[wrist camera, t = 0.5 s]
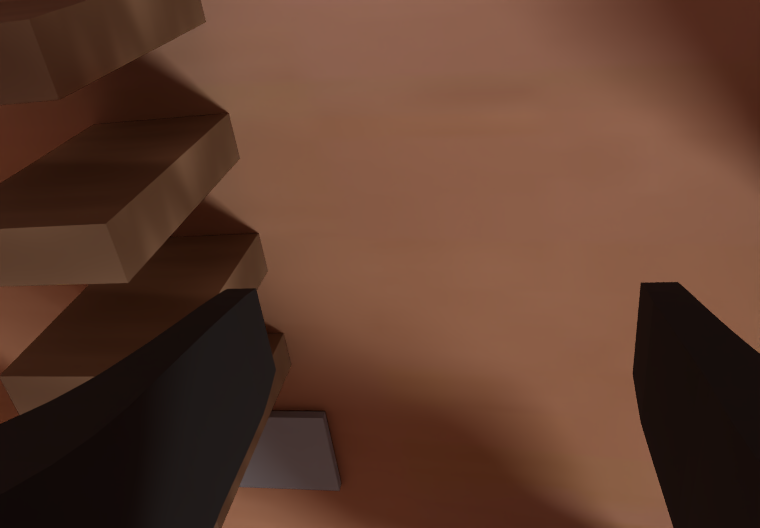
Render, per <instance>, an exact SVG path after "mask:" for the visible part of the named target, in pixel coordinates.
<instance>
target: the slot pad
mask: <svg viewBox="0 0 760 528" xmlns="http://www.w3.org/2000/svg"><path fill="white" fill-rule="evenodd" d="M239 487H254V488H280V489H306V490H332V491H340V487H341V480H340V475H339V471H338V467H337V462H336V458H335V453H334V449H333V445H332V440H331V436H330V431H329V427H328V423H327V418H326V414H325V412H317V411H271V413H270V416H269V418H268V420H267V423H266V425H265V427H264V430H263V432H262V434H261V437H260V439H259V441H258V444H257V446H256V448H255V451H254V453H253V455H252V458H251V460H250V462H249V465H248V467H247V469H246V472H245V474H244V476H243V479H242V481H241V483H240V486H239Z"/></svg>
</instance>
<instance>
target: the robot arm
mask: <svg viewBox="0 0 760 528" xmlns="http://www.w3.org/2000/svg"><path fill="white" fill-rule="evenodd" d="M275 372H276V368H275V363H274V359H273V355H272V351H271V347H270V343H269V339H268V335H267V331H266V327H265V323H264V319H263V315H262V311H261V307H260V303H259V299H258V295H257V291H256V288H244V289H226V290H224V291H222V292H221V293H219V294H217V295H216V296H214V297H213V298H211V299H210V300H208V301H207V302H205V303H204V304H202V305H201V306H199V307H198V308H197V309H195V310H194V311H192V312H191V313H189V314H188V315H187V316H185V317H184V318H182V319H181V320H180V321H178V322H177V323H175V324H174V325H173V326H171V327H170V328H168V329H167V330H165V331H164V332H163V333H161V334H160V335H158V336H157V337H155V338H154V339H153V340H151V341H150V342H148V343H147V344H145V345H144V346H142V347H141V348H139V349H138V350H136V351H134V352H133V353H131V354H130V355H128V356H127V357H125V358H124V359H122V360H121V361H119V362H117V363H116V364H114V365H113V366H111V367H110V368H108V369H107V370H105V371H103V372H102V373H100V374H98V375H97V376H95V377H93V378H92V379H90V380H88V381H86V382H85V383H83V384H81V385H79V386H77V387H76V388H74V389H72V390H70V391H68V392H66V393H64V394H63V395H61V396H59V397H57V398H55V399H53V400H51V401H49V402H47V403H45V404H43V405H41V406H39V407H36V408H34V409H32V410H30V411H28V412H26V413H23V414H21V415H19V416H17V417H15V418H13V419H10V420H8V421H6V422H4V423H2V424H0V528H214V526H215V524H216V521H217V519H218V516H219V514H220V511H221V509H222V506H223V504H224V502H225V500H226V497H227V495H228V493H229V491H230V489H231V486H232V484H233V482H234V480H235V478H236V475H237V473H238V471H239V469H240V466H241V464H242V462H243V460H244V458H245V455H246V453H247V451H248V449H249V447H250V444H251V442H252V440H253V437H254V435H255V433H256V431H257V428H258V426H259V424H260V421H261V419H262V417H263V414H264V411H265V408H266V405H267V401H268V398H269V395H270V391H271V387H272V383H273V380H274V376H275ZM633 379H634V385H635V391H636V397H637V403H638V409H639V415H640V420H641V425H642V428H643V431H644V435H645V438H646V441H647V444H648V448H649V451H650V454H651V457H652V461H653V464H654V467H655V470H656V473H657V477H658V480H659V483H660V486H661V489H662V493H663V496H664V499H665V502H666V505H667V508H668V512H669V515H670V518H671V521H672V524H673V528H760V353H758V352H757V351H756V350H754V349H753V348H752V347H751V346H750V345H748V344H747V343H746V342H745V341H744V340H742V339H741V338H740V337H739V336H738V335H736V334H735V333H734V332H733V331H732V330H731V329H729V328H728V327H727V326H726V325H725V324H724V323H723V322H721V321H720V320H719V319H718V318H717V317H716V316H715V315H714V314H712V313H711V312H710V311H709V310H708V309H707V308H706V307H705V306H704V305H703V304H701V303H700V302H699V301H698V300H697V299H696V298H695V297H694V296H693V295H692V294H691V293H690V292H688V291H687V290H686V289H685V288H684V287H683V286H682V285H681V284H679V283H678V282H656V283H641V287H640V298H639V309H638V321H637V332H636V343H635V354H634V365H633Z"/></svg>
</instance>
